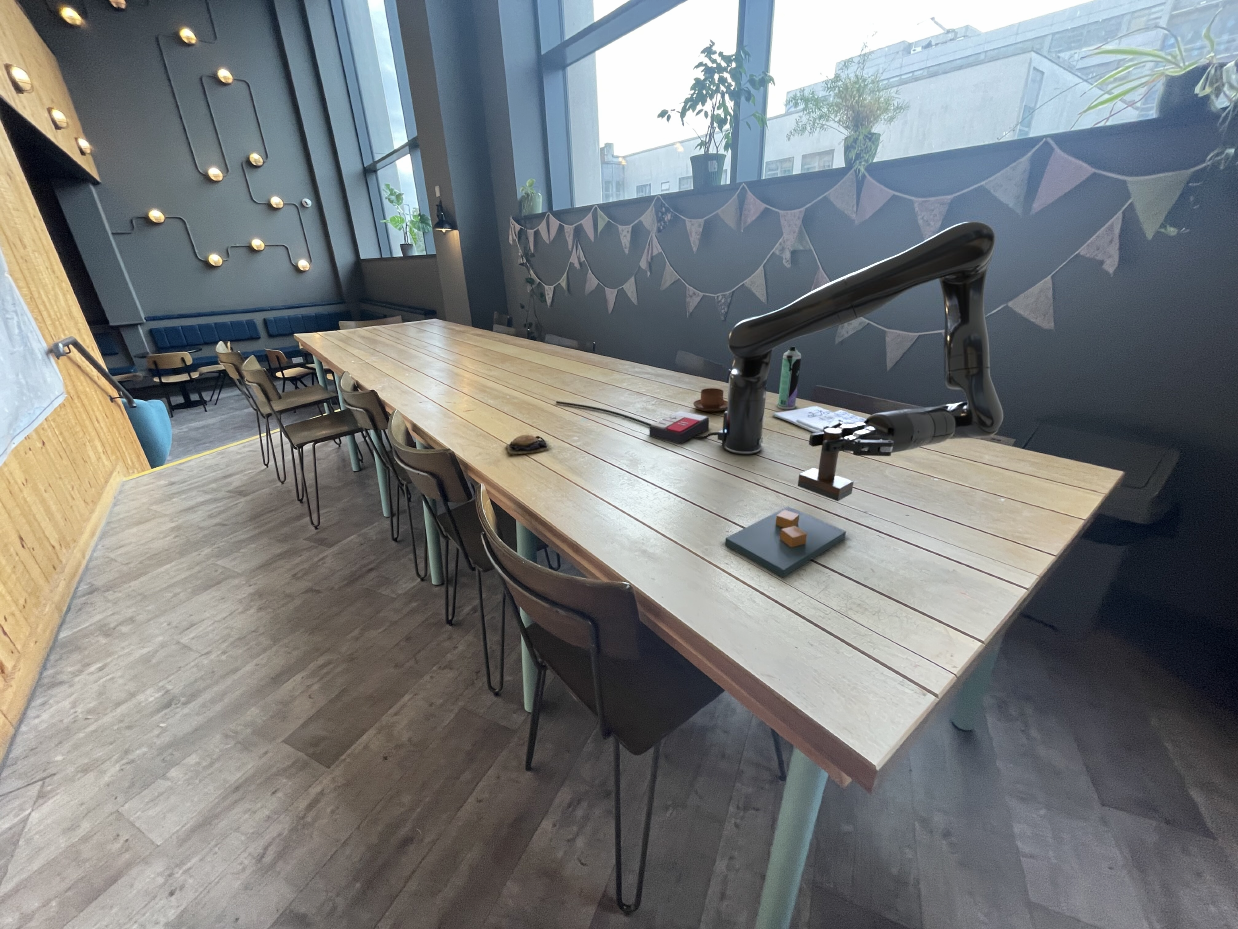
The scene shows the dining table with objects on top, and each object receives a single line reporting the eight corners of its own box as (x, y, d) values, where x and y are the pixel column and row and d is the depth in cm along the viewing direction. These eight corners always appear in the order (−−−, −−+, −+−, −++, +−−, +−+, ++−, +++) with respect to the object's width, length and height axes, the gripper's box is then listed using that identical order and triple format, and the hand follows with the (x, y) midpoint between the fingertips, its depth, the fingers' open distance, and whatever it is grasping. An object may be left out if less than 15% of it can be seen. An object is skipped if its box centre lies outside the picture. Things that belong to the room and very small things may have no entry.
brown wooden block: (775, 524, 86) (776, 515, 85) (782, 518, 88) (783, 509, 87) (790, 530, 84) (792, 520, 83) (798, 523, 86) (799, 514, 85)
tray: (724, 544, 83) (725, 537, 82) (787, 512, 92) (788, 506, 92) (782, 577, 74) (783, 570, 73) (844, 538, 84) (846, 531, 83)
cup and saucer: (736, 408, 157) (737, 390, 155) (717, 416, 149) (718, 397, 147) (706, 402, 165) (706, 384, 162) (686, 409, 157) (686, 391, 154)
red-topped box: (648, 423, 133) (678, 408, 143) (649, 437, 135) (678, 421, 145) (680, 431, 127) (709, 415, 137) (680, 446, 129) (709, 428, 138)
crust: (779, 539, 81) (780, 529, 81) (793, 535, 82) (795, 525, 82) (791, 547, 79) (792, 537, 78) (805, 543, 80) (807, 533, 79)
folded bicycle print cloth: (819, 435, 131) (821, 428, 130) (771, 416, 148) (771, 409, 147) (869, 425, 138) (870, 418, 137) (817, 407, 155) (818, 401, 154)
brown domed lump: (509, 457, 124) (507, 444, 122) (506, 446, 131) (504, 433, 129) (549, 451, 127) (548, 438, 125) (543, 440, 134) (542, 428, 132)
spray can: (796, 409, 154) (803, 347, 146) (778, 409, 155) (785, 347, 147) (793, 404, 158) (801, 344, 150) (776, 404, 160) (783, 344, 152)
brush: (797, 486, 87) (804, 427, 83) (811, 479, 90) (819, 422, 85) (837, 501, 82) (848, 439, 77) (851, 493, 84) (862, 433, 79)
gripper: (872, 401, 90) (794, 411, 86) (936, 422, 78) (849, 436, 73) (865, 437, 93) (790, 449, 89) (926, 464, 81) (842, 479, 76)
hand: (817, 443), depth 81 cm, fingers closed on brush, 3 cm apart
